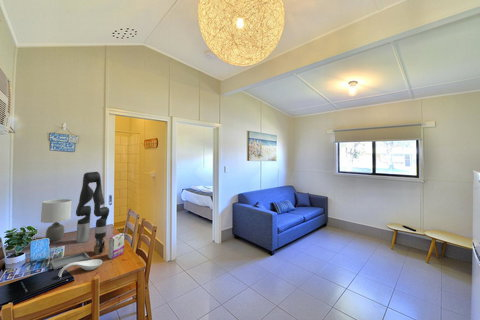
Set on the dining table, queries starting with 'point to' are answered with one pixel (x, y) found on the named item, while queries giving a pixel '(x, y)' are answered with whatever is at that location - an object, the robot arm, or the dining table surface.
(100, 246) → the robot arm
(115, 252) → the candy bar box
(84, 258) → the tray
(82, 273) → the dining table surface
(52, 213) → the lamp
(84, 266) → the spoon rest
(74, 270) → the dining table surface
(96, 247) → the cube
